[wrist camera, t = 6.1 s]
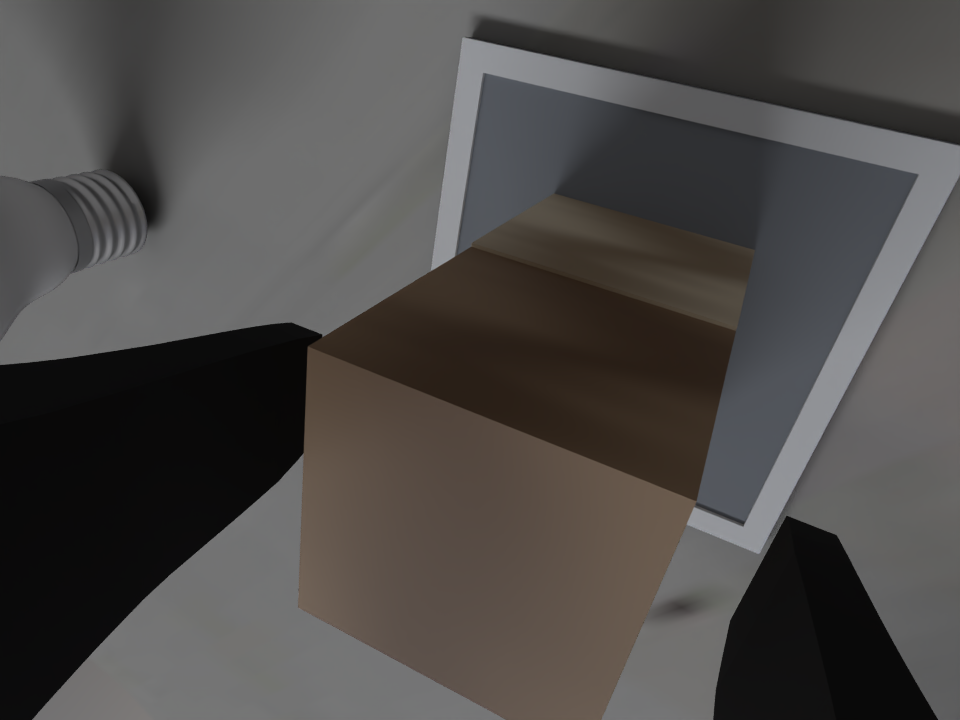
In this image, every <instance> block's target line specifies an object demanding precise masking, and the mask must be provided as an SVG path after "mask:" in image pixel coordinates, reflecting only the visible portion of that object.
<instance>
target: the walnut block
mask: <svg viewBox="0 0 960 720" xmlns="http://www.w3.org/2000/svg"><path fill="white" fill-rule="evenodd" d="M735 333H736V331H735V330H731V329H728V328H725V327H722V326H719V325H716V324H713V323H709V322H706V321H703V320H700V319H697V318H694V317H691V316H687V315H684V314H681V313H678V312H675V311H672V310H669V309H665V308H662V307H659V306H656V305H653V304H650V303H647V302H644V301H640V300H637V299H634V298H631V297H628V296H625V295H622V294H618V293H615V292H612V291H609V290H606V289H603V288H600V287H596V286H593V285H590V284H587V283H584V282H581V281H578V280H574V279H571V278H568V277H565V276H562V275H559V274H556V273H552V272H549V271H546V270H543V269H540V268H537V267H534V266H530V265H527V264H524V263H521V262H518V261H515V260H512V259H509V258H505V257H502V256H499V255H496V254H493V253H490V252H487V251H483V250H480V249H477V248H474V247H470V248H468V249H467V250H465V251H463V252H462V253H460V254H458V255H457V256H455V257H453V258H452V259H450V260H449V261H447V262H445V263H444V264H442V265H440V266H439V267H437V268H435V269H434V270H432V271H431V272H429V273H427V274H426V275H424V276H422V277H421V278H419V279H417V280H416V281H414V282H413V283H411V284H409V285H408V286H406V287H404V288H403V289H401V290H399V291H398V292H396V293H395V294H393V295H391V296H390V297H388V298H386V299H385V300H383V301H381V302H380V303H378V304H377V305H375V306H373V307H372V308H370V309H368V310H367V311H365V312H363V313H362V314H360V315H358V316H357V317H355V318H354V319H352V320H350V321H349V322H347V323H345V324H344V325H342V326H340V327H339V328H337V329H336V330H334V331H332V332H331V333H329V334H327V335H326V336H324V337H322V338H321V339H319V340H318V341H316V342H314V343H313V344H311V345H309V346H308V352H307V379H306V407H305V434H304V461H303V489H302V516H301V543H300V571H299V598H298V608H300V609H302V610H304V611H306V612H307V613H309V614H311V615H313V616H315V617H317V618H319V619H320V620H322V621H324V622H326V623H328V624H330V625H332V626H333V627H335V628H337V629H339V630H341V631H343V632H345V633H346V634H348V635H350V636H352V637H354V638H356V639H358V640H359V641H361V642H363V643H365V644H367V645H369V646H371V647H372V648H374V649H376V650H378V651H380V652H382V653H384V654H385V655H387V656H389V657H391V658H393V659H395V660H397V661H398V662H400V663H402V664H404V665H406V666H408V667H410V668H411V669H413V670H415V671H417V672H419V673H421V674H423V675H424V676H426V677H428V678H430V679H432V680H434V681H436V682H437V683H439V684H441V685H443V686H445V687H447V688H449V689H450V690H452V691H454V692H456V693H458V694H460V695H461V696H463V697H465V698H467V699H469V700H471V701H473V702H474V703H476V704H478V705H480V706H482V707H484V708H486V709H487V710H489V711H491V712H493V713H495V714H497V715H499V716H500V717H502V718H504V719H506V720H601V719H602V717H603V714H604V712H605V710H606V707H607V705H608V703H609V701H610V698H611V696H612V694H613V691H614V689H615V687H616V685H617V682H618V680H619V678H620V675H621V673H622V671H623V669H624V666H625V664H626V662H627V659H628V657H629V655H630V653H631V650H632V648H633V646H634V643H635V641H636V639H637V637H638V634H639V632H640V630H641V627H642V625H643V623H644V621H645V618H646V616H647V614H648V611H649V609H650V607H651V605H652V602H653V600H654V598H655V595H656V593H657V591H658V588H659V586H660V584H661V582H662V579H663V577H664V575H665V572H666V570H667V568H668V566H669V563H670V561H671V559H672V556H673V554H674V552H675V550H676V547H677V545H678V543H679V540H680V538H681V536H682V534H683V531H684V529H685V527H686V524H687V522H688V520H689V518H690V515H691V513H692V511H693V508H694V506H695V504H696V502H697V497H698V493H699V489H700V484H701V480H702V476H703V471H704V467H705V463H706V458H707V454H708V450H709V445H710V441H711V437H712V432H713V428H714V424H715V419H716V415H717V411H718V407H719V402H720V398H721V394H722V389H723V385H724V381H725V376H726V372H727V368H728V363H729V359H730V355H731V350H732V346H733V342H734V337H735Z"/></svg>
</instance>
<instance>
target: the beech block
mask: <svg viewBox="0 0 960 720" xmlns="http://www.w3.org/2000/svg"><path fill="white" fill-rule="evenodd" d="M471 247H474V248H477V249H480V250H483V251H487V252H490V253H493V254H496V255H499V256H502V257H505V258H509V259H512V260H515V261H518V262H521V263H524V264H527V265H530V266H534V267H537V268H540V269H543V270H546V271H549V272H552V273H556V274H559V275H562V276H565V277H568V278H571V279H574V280H578V281H581V282H584V283H587V284H590V285H593V286H596V287H600V288H603V289H606V290H609V291H612V292H615V293H618V294H622V295H625V296H628V297H631V298H634V299H637V300H640V301H644V302H647V303H650V304H653V305H656V306H659V307H662V308H665V309H669V310H672V311H675V312H678V313H681V314H684V315H687V316H691V317H694V318H697V319H700V320H703V321H706V322H709V323H713V324H716V325H719V326H722V327H725V328H728V329H731V330H735V331H736V329H737V326H738V322H739V318H740V313H741V309H742V305H743V300H744V296H745V291H746V287H747V283H748V278H749V274H750V270H751V265H752V261H753V257H754V252H755V250H753V249H749V248H746V247H742V246H739V245H735V244H732V243H728V242H725V241H721V240H717V239H714V238H710V237H707V236H703V235H700V234H696V233H693V232H689V231H686V230H682V229H678V228H675V227H671V226H668V225H664V224H661V223H657V222H654V221H650V220H647V219H643V218H639V217H636V216H632V215H629V214H625V213H622V212H618V211H615V210H611V209H608V208H604V207H600V206H597V205H593V204H590V203H586V202H583V201H579V200H576V199H572V198H569V197H565V196H562V195H558V194H552V195H551V196H549V197H547V198H546V199H544V200H542V201H541V202H539V203H537V204H536V205H534V206H532V207H531V208H529V209H527V210H526V211H524V212H522V213H521V214H519V215H517V216H516V217H514V218H512V219H511V220H509V221H507V222H506V223H504V224H502V225H501V226H499V227H497V228H496V229H494V230H492V231H491V232H489V233H487V234H486V235H484V236H482V237H481V238H479V239H477V240H476V241H474V242H472V244H471Z"/></svg>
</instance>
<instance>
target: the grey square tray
mask: <svg viewBox="0 0 960 720" xmlns="http://www.w3.org/2000/svg"><path fill="white" fill-rule="evenodd" d="M959 176H960V144H957V143H952V142H948V141H943V140H938V139H934V138H929V137H925V136H920V135H915V134H911V133H906V132H902V131H897V130H893V129H888V128H883V127H879V126H874V125H870V124H865V123H860V122H856V121H851V120H847V119H842V118H837V117H833V116H828V115H824V114H819V113H815V112H810V111H805V110H801V109H796V108H792V107H787V106H782V105H778V104H773V103H769V102H764V101H760V100H755V99H750V98H746V97H741V96H737V95H732V94H727V93H723V92H718V91H714V90H709V89H704V88H700V87H695V86H691V85H686V84H682V83H677V82H672V81H668V80H663V79H659V78H654V77H649V76H645V75H640V74H636V73H631V72H626V71H622V70H617V69H613V68H608V67H604V66H599V65H594V64H590V63H585V62H581V61H576V60H571V59H567V58H562V57H558V56H553V55H549V54H544V53H539V52H535V51H530V50H526V49H521V48H516V47H512V46H507V45H503V44H498V43H493V42H489V41H484V40H480V39H475V38H471V37H463V39H462V46H461V54H460V61H459V68H458V76H457V83H456V90H455V98H454V105H453V112H452V120H451V127H450V134H449V142H448V149H447V156H446V164H445V171H444V178H443V186H442V193H441V200H440V208H439V215H438V222H437V230H436V237H435V244H434V252H433V259H432V266H431V271H432V270H434V269H435V268H437V267H439V266H440V265H442V264H444V263H445V262H447V261H449V260H450V259H452V258H453V257H455V256H457V255H458V254H460V253H462V252H463V251H465V250H467V249H468V248H470V247H471V244H472V242H474V241H476V240H477V239H479V238H481V237H482V236H484V235H486V234H487V233H489V232H491V231H492V230H494V229H496V228H497V227H499V226H501V225H502V224H504V223H506V222H507V221H509V220H511V219H512V218H514V217H516V216H517V215H519V214H521V213H522V212H524V211H526V210H527V209H529V208H531V207H532V206H534V205H536V204H537V203H539V202H541V201H542V200H544V199H546V198H547V197H549V196H551V195H552V194H558V195H562V196H565V197H569V198H572V199H576V200H579V201H583V202H586V203H590V204H593V205H597V206H600V207H604V208H608V209H611V210H615V211H618V212H622V213H625V214H629V215H632V216H636V217H639V218H643V219H647V220H650V221H654V222H657V223H661V224H664V225H668V226H671V227H675V228H678V229H682V230H686V231H689V232H693V233H696V234H700V235H703V236H707V237H710V238H714V239H717V240H721V241H725V242H728V243H732V244H735V245H739V246H742V247H746V248H749V249H753V250H755V252H754V257H753V261H752V265H751V270H750V274H749V278H748V283H747V287H746V291H745V296H744V300H743V305H742V309H741V313H740V318H739V322H738V326H737V329H736V333H735V337H734V342H733V346H732V350H731V355H730V359H729V363H728V368H727V372H726V376H725V381H724V385H723V389H722V394H721V398H720V402H719V407H718V411H717V415H716V419H715V424H714V428H713V432H712V437H711V441H710V445H709V450H708V454H707V458H706V463H705V467H704V471H703V476H702V480H701V484H700V489H699V493H698V497H697V502H696V504H695V506H694V508H693V511H692V513H691V515H690V518H689V520H688V522H687V525H689V526H692V527H694V528H696V529H699V530H701V531H704V532H706V533H709V534H711V535H714V536H716V537H718V538H721V539H723V540H726V541H728V542H731V543H733V544H735V545H738V546H740V547H743V548H745V549H748V550H750V551H752V552H755V553H757V554H759V553H760V551H761V550H762V548H763V546H764V544H765V542H766V540H767V538H768V536H769V534H770V533H771V531H772V529H773V527H774V525H775V523H776V521H777V519H778V517H779V516H780V514H781V512H782V510H783V508H784V506H785V504H786V502H787V500H788V499H789V497H790V495H791V493H792V491H793V489H794V487H795V485H796V483H797V482H798V480H799V478H800V476H801V474H802V472H803V470H804V468H805V467H806V465H807V463H808V461H809V459H810V457H811V455H812V453H813V451H814V450H815V448H816V446H817V444H818V442H819V440H820V438H821V436H822V434H823V433H824V431H825V429H826V427H827V425H828V423H829V421H830V419H831V417H832V416H833V414H834V412H835V410H836V408H837V406H838V404H839V402H840V400H841V399H842V397H843V395H844V393H845V391H846V389H847V387H848V385H849V384H850V382H851V380H852V378H853V376H854V374H855V372H856V370H857V368H858V367H859V365H860V363H861V361H862V359H863V357H864V355H865V353H866V351H867V350H868V348H869V346H870V344H871V342H872V340H873V338H874V336H875V334H876V333H877V331H878V329H879V327H880V325H881V323H882V321H883V319H884V317H885V316H886V314H887V312H888V310H889V308H890V306H891V304H892V302H893V300H894V299H895V297H896V295H897V293H898V291H899V289H900V287H901V285H902V284H903V282H904V280H905V278H906V276H907V274H908V272H909V270H910V268H911V267H912V265H913V263H914V261H915V259H916V257H917V255H918V253H919V251H920V250H921V248H922V246H923V244H924V242H925V240H926V238H927V236H928V234H929V233H930V231H931V229H932V227H933V225H934V223H935V221H936V219H937V217H938V216H939V214H940V212H941V210H942V208H943V206H944V204H945V202H946V201H947V199H948V197H949V195H950V193H951V191H952V189H953V187H954V185H955V184H956V182H957V180H958V178H959Z"/></svg>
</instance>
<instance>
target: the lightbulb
mask: <svg viewBox="0 0 960 720" xmlns="http://www.w3.org/2000/svg"><path fill="white" fill-rule="evenodd" d="M146 237H147V219H146V214H145V211H144V208H143V205H142V203H141V201H140V199H139V197H138V196H137V194H136V192H135V191H134V190H133V188H132V187H131V186H130V185H129V184H128V183H127V182H126V181H125V180H124V179H123V178H122V177H120V176H119V175H117V174H116V173H114V172H112V171H109V170H103V169H99V170H94V171H92V172H83V173H80V174H72V175H68V176H66V177H56V178H53V179H42V180H37V181H31V182H28V181H25V180H21V179H17V178H13V177H7V176H0V341H1V340H2V338H3V337H4V335H5V334H6V332H7V331H8V329H9V328H10V326H11V325H12V323H13V322H14V320H15V319H16V317H17V316H18V315H19V313H20V312H21V311H22V310H23V309H24V308H25V307H26V306H27V305H29V304H30V303H32V302H33V301H35V300H36V299H38V298H40V297H42V296H44V295H45V294H47V293H49V292H51V291H52V290H54V289H55V288H57V287H58V286H59V285H60V284H61V283H63V282H64V281H65V280H66V278H67V277H68V276H69V275H70V274H72V273H75V272H78V271H81V270H83V269H84V268H90V267H92V266H94V265H95V264H103V263H105V262H107V261H112V260H116V259H117V258H119V257H125V256H128V255H130V254H134V253H136V252H138V251H139V250H140V249H141V248H142V247H143V245H144V243H145V241H146Z"/></svg>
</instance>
